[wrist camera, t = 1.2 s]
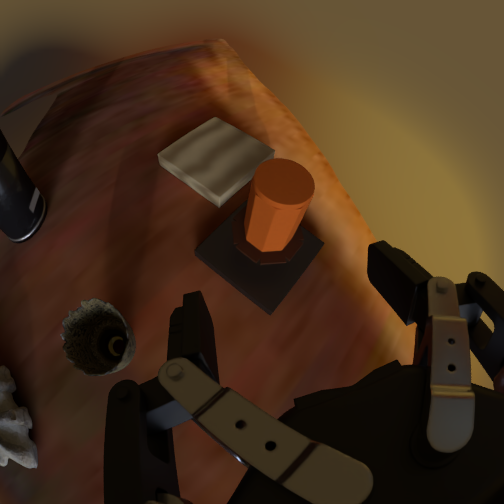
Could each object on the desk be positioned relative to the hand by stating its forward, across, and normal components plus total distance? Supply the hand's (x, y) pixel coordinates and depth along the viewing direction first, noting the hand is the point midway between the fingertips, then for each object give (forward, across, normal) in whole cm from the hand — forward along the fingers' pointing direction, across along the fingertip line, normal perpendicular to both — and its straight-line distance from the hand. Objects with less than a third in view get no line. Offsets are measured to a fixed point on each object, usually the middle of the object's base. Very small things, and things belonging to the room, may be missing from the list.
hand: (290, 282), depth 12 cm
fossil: (+3, +43, +15) cm, 45 cm away
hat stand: (+21, -1, +10) cm, 24 cm away
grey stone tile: (+34, +2, 0) cm, 34 cm away
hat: (+18, -2, +6) cm, 19 cm away
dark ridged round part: (+12, +18, +13) cm, 26 cm away
